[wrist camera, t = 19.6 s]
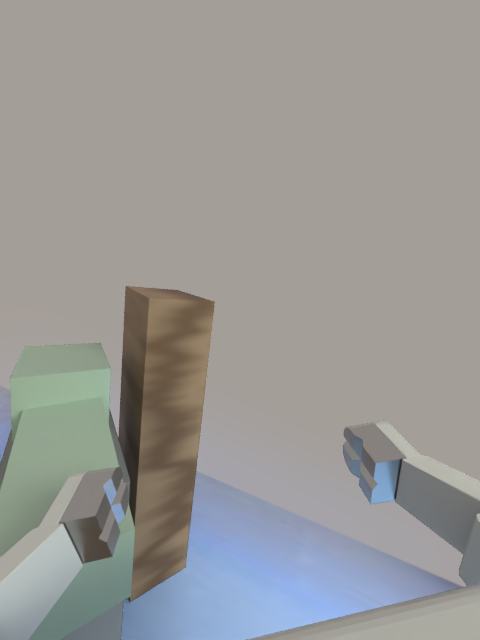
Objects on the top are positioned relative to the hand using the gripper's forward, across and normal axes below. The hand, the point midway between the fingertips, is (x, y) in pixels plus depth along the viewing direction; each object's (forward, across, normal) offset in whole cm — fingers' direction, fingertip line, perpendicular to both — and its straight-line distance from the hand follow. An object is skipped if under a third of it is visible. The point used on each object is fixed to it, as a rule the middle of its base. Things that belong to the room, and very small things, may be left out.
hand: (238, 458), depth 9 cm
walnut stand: (+11, +10, +21) cm, 26 cm away
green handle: (+5, +10, +4) cm, 12 cm away
